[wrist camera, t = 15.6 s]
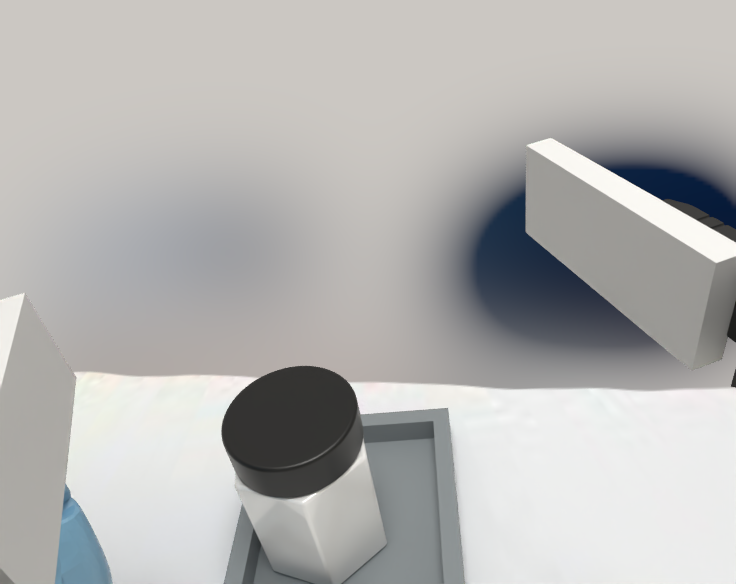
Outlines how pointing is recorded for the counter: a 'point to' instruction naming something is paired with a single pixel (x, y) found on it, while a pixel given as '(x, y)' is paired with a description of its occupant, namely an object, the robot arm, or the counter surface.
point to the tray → (390, 508)
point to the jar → (305, 473)
